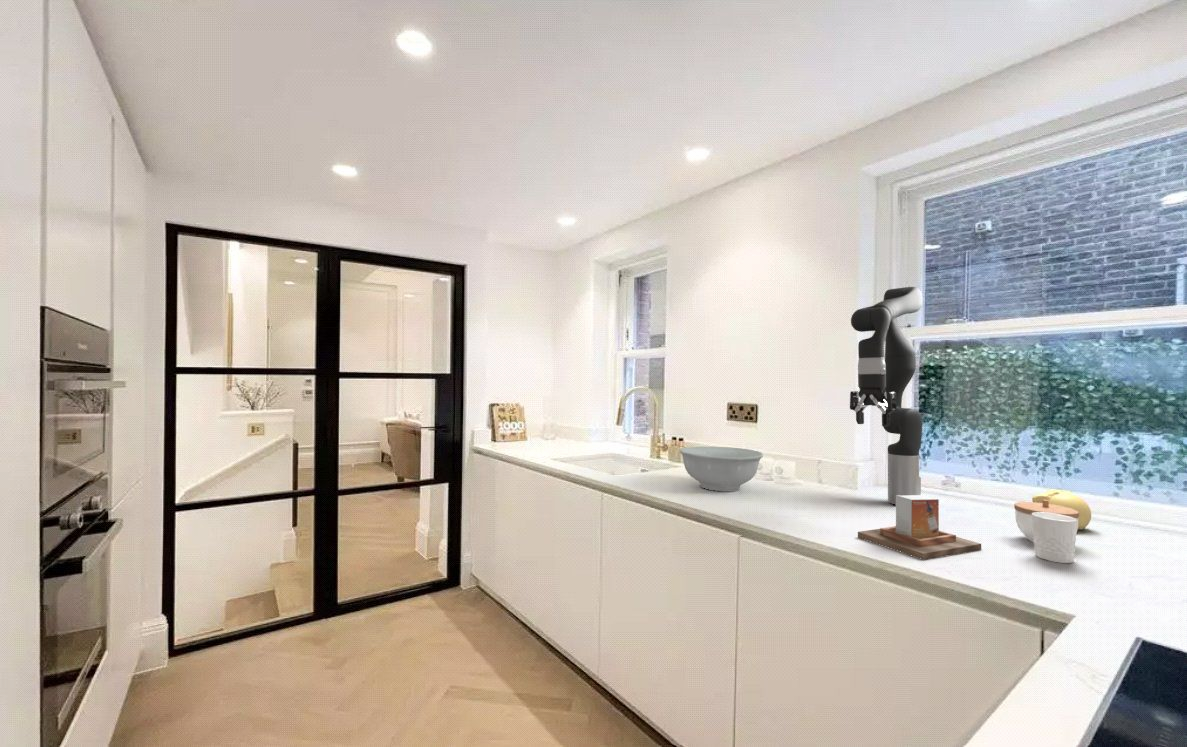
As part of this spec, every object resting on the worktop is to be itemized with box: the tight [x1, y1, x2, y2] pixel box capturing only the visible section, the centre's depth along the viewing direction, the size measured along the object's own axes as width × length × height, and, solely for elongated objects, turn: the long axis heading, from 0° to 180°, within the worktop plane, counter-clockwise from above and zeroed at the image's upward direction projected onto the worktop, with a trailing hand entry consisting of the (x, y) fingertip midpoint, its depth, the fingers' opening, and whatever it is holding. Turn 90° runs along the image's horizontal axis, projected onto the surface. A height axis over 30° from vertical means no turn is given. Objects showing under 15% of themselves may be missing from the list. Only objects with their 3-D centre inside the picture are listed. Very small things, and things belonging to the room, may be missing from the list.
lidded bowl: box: [1013, 500, 1079, 543], centre depth 130 cm, size 13×13×11 cm
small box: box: [895, 494, 940, 539], centre depth 128 cm, size 8×6×10 cm
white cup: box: [1032, 512, 1077, 564], centre depth 118 cm, size 8×8×10 cm
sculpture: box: [1031, 488, 1092, 530], centre depth 144 cm, size 12×12×11 cm
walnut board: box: [857, 525, 982, 560], centre depth 128 cm, size 21×18×3 cm
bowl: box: [678, 446, 764, 492], centre depth 195 cm, size 32×32×15 cm
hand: (872, 425), depth 152 cm, fingers open, 8 cm apart
